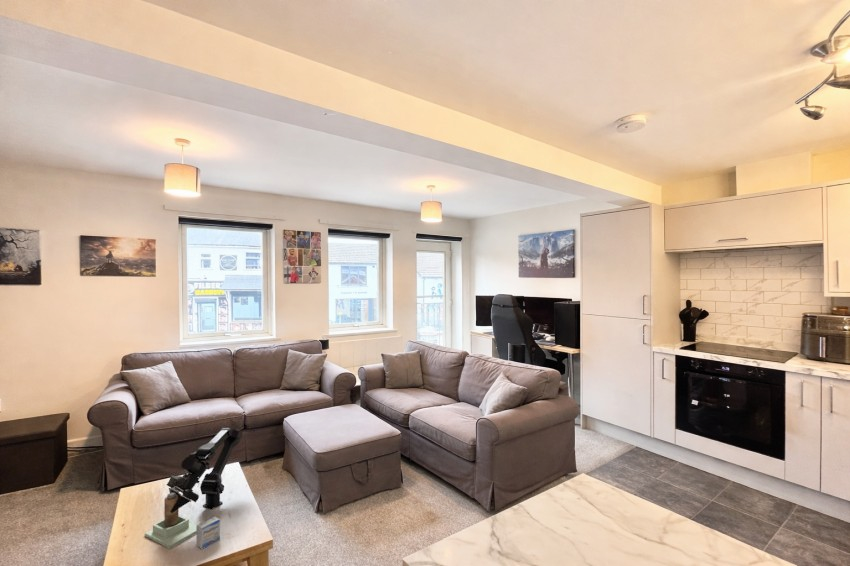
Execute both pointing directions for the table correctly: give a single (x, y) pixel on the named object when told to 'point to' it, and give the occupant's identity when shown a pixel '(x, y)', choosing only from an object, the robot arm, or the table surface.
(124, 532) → the table surface
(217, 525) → the medicine box
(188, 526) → the sage tray
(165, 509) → the pepper mill
